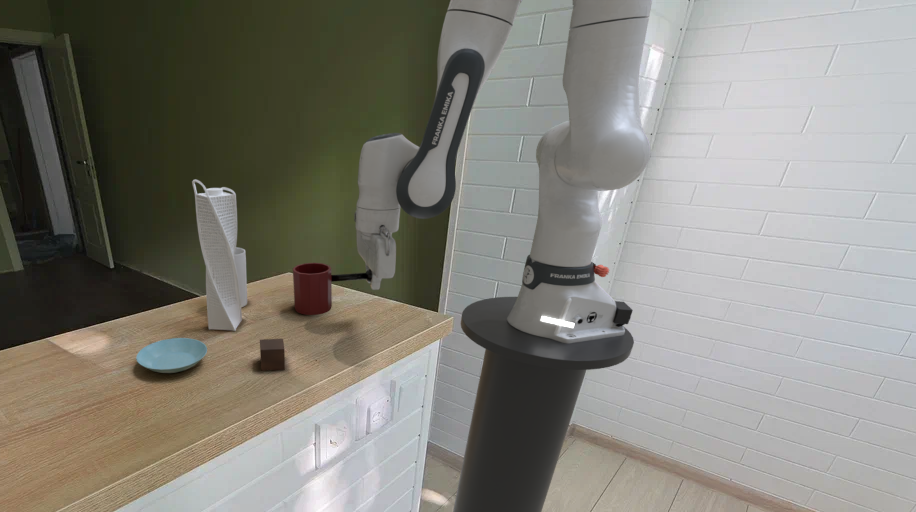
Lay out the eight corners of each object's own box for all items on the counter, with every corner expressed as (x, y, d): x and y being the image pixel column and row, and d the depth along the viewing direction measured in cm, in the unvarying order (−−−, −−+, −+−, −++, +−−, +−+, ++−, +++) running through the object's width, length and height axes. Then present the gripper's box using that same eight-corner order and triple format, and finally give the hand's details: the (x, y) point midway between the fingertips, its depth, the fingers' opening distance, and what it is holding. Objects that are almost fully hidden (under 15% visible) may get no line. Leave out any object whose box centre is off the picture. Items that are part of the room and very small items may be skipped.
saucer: (131, 382, 77) (129, 370, 76) (145, 350, 88) (143, 338, 87) (205, 379, 78) (204, 367, 77) (210, 347, 89) (209, 336, 88)
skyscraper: (199, 331, 95) (183, 181, 82) (211, 316, 102) (198, 176, 89) (238, 333, 94) (228, 182, 81) (248, 318, 101) (240, 177, 88)
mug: (224, 297, 112) (220, 246, 106) (252, 299, 111) (249, 247, 105) (208, 314, 103) (203, 259, 97) (238, 316, 102) (235, 260, 96)
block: (283, 358, 85) (283, 338, 83) (284, 369, 81) (284, 348, 79) (260, 359, 84) (259, 339, 83) (261, 371, 81) (260, 349, 79)
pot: (373, 296, 110) (375, 258, 106) (382, 310, 103) (383, 269, 99) (293, 302, 109) (291, 264, 105) (296, 316, 102) (294, 275, 98)
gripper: (407, 232, 89) (399, 302, 96) (380, 210, 107) (376, 271, 114) (373, 233, 89) (368, 303, 95) (352, 211, 107) (350, 271, 113)
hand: (372, 285), depth 105 cm, fingers closed on pot, 3 cm apart
